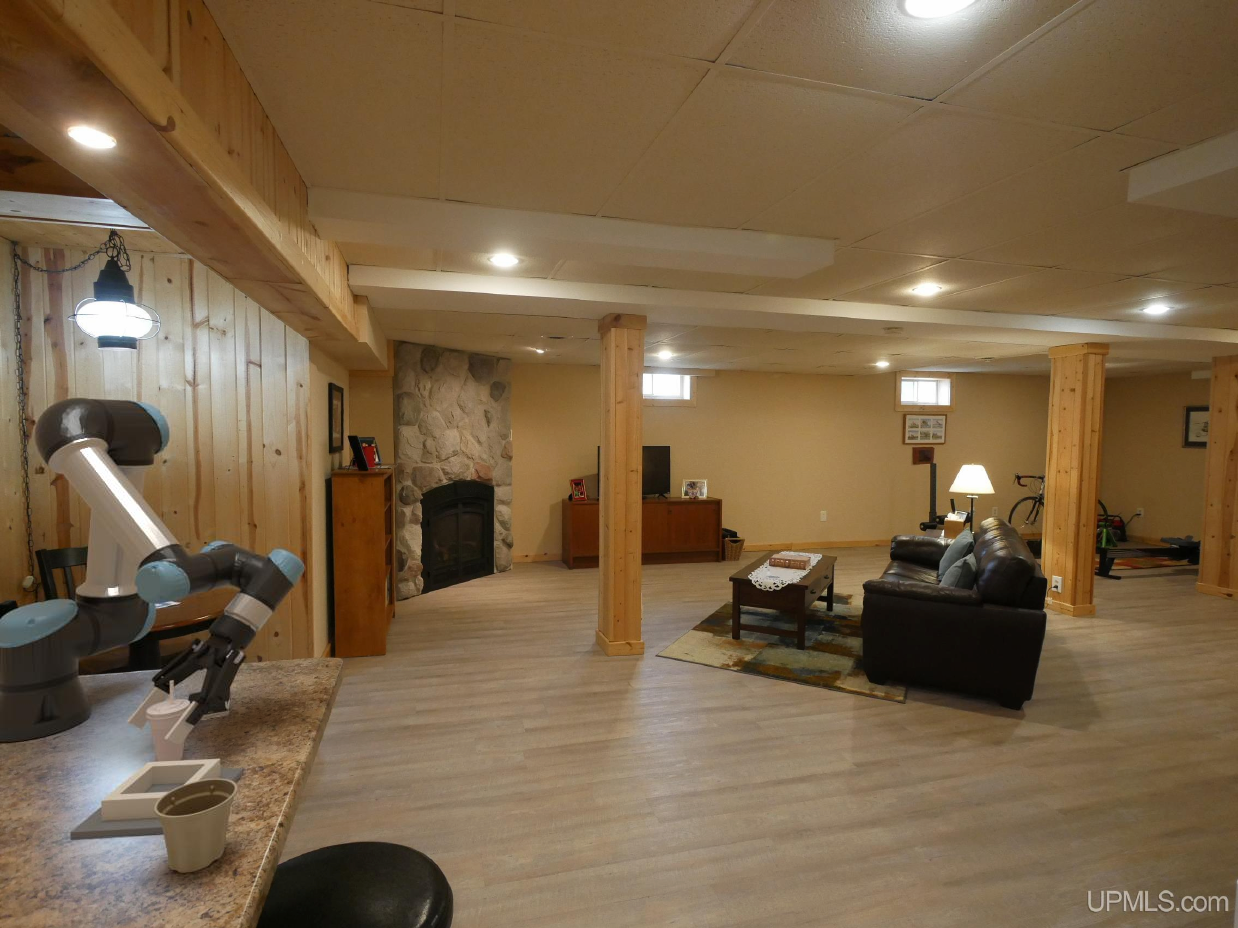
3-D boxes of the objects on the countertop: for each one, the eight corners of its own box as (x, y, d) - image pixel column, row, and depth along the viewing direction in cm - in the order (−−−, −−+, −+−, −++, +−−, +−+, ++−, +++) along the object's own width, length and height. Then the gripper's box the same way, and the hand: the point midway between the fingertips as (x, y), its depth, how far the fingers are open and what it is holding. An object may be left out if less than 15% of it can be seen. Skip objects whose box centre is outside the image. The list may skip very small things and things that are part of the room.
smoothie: (198, 757, 113) (197, 679, 112) (157, 773, 107) (155, 692, 107) (181, 747, 116) (179, 672, 115) (140, 762, 111) (138, 683, 110)
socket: (142, 778, 106) (141, 754, 105) (243, 773, 107) (243, 750, 107) (70, 839, 90) (69, 811, 90) (191, 832, 92) (190, 805, 91)
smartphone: (230, 686, 142) (229, 711, 129) (230, 692, 142) (229, 717, 129) (189, 693, 138) (184, 719, 126) (189, 699, 138) (184, 726, 126)
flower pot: (223, 827, 93) (222, 770, 92) (249, 855, 87) (248, 793, 86) (145, 860, 85) (144, 798, 85) (168, 893, 79) (166, 826, 79)
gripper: (292, 642, 119) (208, 758, 106) (218, 623, 130) (134, 726, 117) (264, 621, 114) (173, 741, 101) (190, 603, 125) (99, 709, 112)
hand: (152, 733), depth 109 cm, fingers open, 12 cm apart
